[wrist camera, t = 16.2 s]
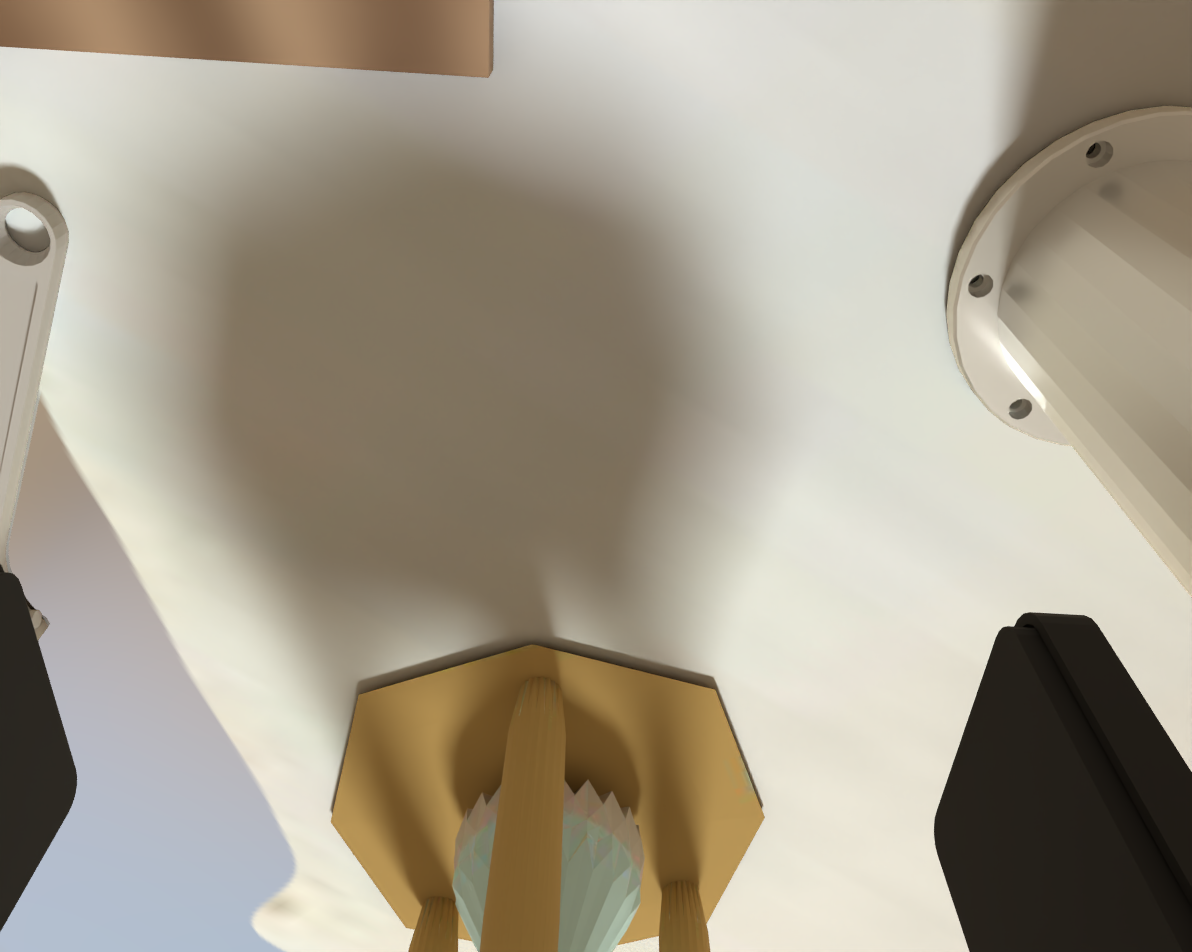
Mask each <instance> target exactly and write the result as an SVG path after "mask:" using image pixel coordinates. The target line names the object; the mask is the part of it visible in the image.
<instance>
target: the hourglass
mask: <svg viewBox="0 0 1192 952" xmlns="http://www.w3.org/2000/svg"><path fill="white" fill-rule="evenodd" d="M764 818H765V817H764V814H763V812H762V809H761V807H760V804H759V801H758V799H757V796H756V794H755V791H754V789H753V786H752V783H751V781H750V778H749V776H748V773H747V770H746V768H745V765H744V763H743V760H742V758H741V755H740V752H739V750H738V747H737V745H736V742H735V739H734V737H733V734H732V732H731V729H730V727H729V724H728V721H727V719H726V716H725V714H724V711H723V708H722V706H721V703H720V701H719V698H718V696H717V693H716V690H714V689H710V688H706V687H702V686H698V685H694V684H690V683H686V682H682V681H678V680H674V679H670V678H666V677H662V676H658V675H654V674H650V673H646V672H642V671H638V670H634V669H630V668H626V667H622V666H618V665H614V664H610V663H606V662H602V661H598V660H594V659H590V658H586V657H582V656H578V655H574V654H570V653H566V652H562V651H558V650H554V649H550V648H546V647H542V646H538V645H534V644H531V645H528V646H524V647H521V648H517V649H514V650H510V651H507V652H504V653H500V654H497V655H493V656H490V657H486V658H483V659H480V660H476V661H473V662H469V663H466V664H462V665H459V666H456V667H452V668H449V669H445V670H442V671H438V672H435V673H431V674H428V675H425V676H421V677H418V678H414V679H411V680H407V681H404V682H401V683H397V684H394V685H390V686H387V687H383V688H380V689H377V690H373V691H370V692H366V693H363V694H359V695H358V700H357V704H356V709H355V714H354V718H353V723H352V727H351V732H350V736H349V741H348V745H347V750H346V755H345V759H344V764H343V768H342V773H341V777H340V782H339V787H338V791H337V796H336V800H335V805H334V809H333V814H332V818H331V823H332V824H333V826H334V827H335V829H336V830H337V831H338V833H339V834H340V836H341V837H342V839H343V840H344V841H345V843H346V844H347V846H348V847H349V848H350V850H351V851H352V853H353V854H354V855H355V857H356V858H357V860H358V861H359V862H360V864H361V865H362V867H363V868H364V869H365V871H366V872H367V874H368V875H369V876H370V878H371V879H372V881H373V882H374V883H375V885H376V886H377V888H378V889H379V890H380V892H381V893H382V895H383V896H384V897H385V899H386V900H387V902H388V903H389V904H390V906H391V907H392V909H393V910H394V911H395V913H396V914H397V916H398V917H399V919H400V920H401V921H402V923H403V924H404V926H405V927H406V928H410V929H415V931H414V934H413V938H412V941H411V944H410V947H409V952H458V938H459V939H464V940H469V941H473V943H474V945H475V947H476V949H477V951H478V952H613V950H614V949H615V947H616V946H617V945H620V944H625V943H629V942H634V941H638V940H643V939H647V938H651V937H656V936H659V952H710V946H709V937H708V930H707V925H706V923H707V922H708V920H709V918H710V916H711V914H712V912H713V911H714V909H715V907H716V905H717V903H718V902H719V900H720V898H721V896H722V894H723V892H724V891H725V889H726V887H727V885H728V883H729V881H730V880H731V878H732V876H733V874H734V872H735V871H736V869H737V867H738V865H739V863H740V861H741V860H742V858H743V856H744V854H745V852H746V850H747V849H748V847H749V845H750V843H751V841H752V840H753V838H754V836H755V834H756V832H757V830H758V829H759V827H760V825H761V823H762V821H763V820H764Z"/></svg>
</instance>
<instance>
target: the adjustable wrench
mask: <svg viewBox="0 0 1192 952" xmlns="http://www.w3.org/2000/svg"><path fill="white" fill-rule="evenodd" d="M15 208H24V209H26V210H28V211H30V212H32V213H33V214H34V215H35V216H36V217H38V218H39V219H40V220H41V221H42V223H43V224H44V226H45V227H46V229H47V231H48V234H49V237H50V245H49V246H48V247H47V248H46V249H45V250H43V251H41V252H30V251H27V250H26V249H24V248H22V247H20V246H19V245H18V244H17V243H16V242H15V241H13V239H12V238H11V236H10V235H9V233H8V231H7V228H6V225H5V218H6V215H7V214H8V213H9V212H10V211H11V210H13V209H15ZM68 243H69V231H68V228H67V225H66V222H65V220H64V218H63V217H62V215H61V214H60V212H59V211H58V210H57V209H56V208H55V207H54V206H53V205H52V204H51V203H50V202H49V201H47V200H45V199H43V198H42V197H40V196H38V195H35V194H31V193H27V192H16V193H12V194H10V195H7V196H5V197H3V198H1V199H0V564H1V565H2V567H3V570H4V572H6V573H11V574H13V573H12V571H11V568H10V562H9V555H8V554H9V540H10V536H11V531H12V526H13V522H14V517H15V512H16V507H17V503H18V498H19V493H20V489H21V483H22V479H23V474H24V470H25V465H26V460H27V455H28V451H29V446H30V442H31V437H32V432H33V427H34V423H35V418H36V413H37V409H38V404H39V399H40V395H41V393H40V391H39V384H40V379H41V374H42V369H43V365H44V360H45V355H46V350H47V345H48V340H49V335H50V331H51V326H52V321H53V316H54V311H55V306H56V301H57V297H58V292H59V287H60V282H61V277H62V272H63V267H64V263H65V258H66V253H67V248H68ZM24 596H25V595H24ZM25 599H26V597H25ZM26 603H27V606H28V609H29V613H30V616H31V619H32V623H33V626H34V630H35V633H36V636H37V640H38V642H39V638H40V637H41V636H42V634H43V633H44V632H45V630H46V629H47V628H48V626H49V625H50V623H49V621H48V619H47V618H46V617H45V616H43V615H42V614H41V612H40V611H39V610H36V609H35V608H34V607H33V606H32V605H31V604H30V602H29V601H28V600H27V599H26Z"/></svg>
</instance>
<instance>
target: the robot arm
mask: <svg viewBox="0 0 1192 952" xmlns="http://www.w3.org/2000/svg"><path fill="white" fill-rule="evenodd" d="M1094 143H1095V149H1094V151H1093V152H1092V153H1091V154H1089V155H1086V153H1087V151H1088V149H1089V148H1090V146H1092V145H1093V144H1094ZM977 275H980V277H979V279H978V280H977V281H976V282H974V283H970V281H971V279H972V278H974V277H975V276H977ZM946 316H947V325H948V334H949V343H950V346H951V349H952V352H953V355H954V357H955V360H956V363H957V366H958V369H959V370H960V372H961V374H962V375H963V377H964V378H965V380H966V382H967V383H968V385H969V387H970V388H971V390H972V391H973V392H974V394H975V395H976V396H977V397H978V398H979V400H980V401H981V402H982V403H983V405H984V406H985V407H986V408H987V409H988V411H990V412H991V413H992V414H993V415H995V416H996V417H997V418H998V419H999V420H1001V421H1002V422H1003V423H1005V424H1006V425H1008V426H1009V427H1011V428H1013V429H1015V430H1018V431H1020V432H1022V433H1024V434H1026V435H1028V436H1030V437H1033V438H1035V439H1039V440H1043V441H1047V442H1051V443H1055V444H1059V445H1064V446H1072V447H1073V448H1074V450H1075V451H1076V452H1077V453H1078V455H1079V456H1080V457H1081V459H1082V460H1083V461H1084V462H1085V464H1086V465H1087V466H1088V467H1089V469H1090V470H1091V471H1092V472H1093V474H1094V475H1095V476H1096V477H1097V479H1098V480H1099V481H1100V483H1101V484H1102V485H1103V486H1104V488H1105V489H1106V490H1107V491H1108V493H1109V494H1110V495H1111V496H1112V498H1113V499H1114V500H1115V501H1116V503H1117V504H1118V505H1119V507H1120V508H1121V509H1122V510H1123V512H1124V513H1125V514H1126V515H1127V517H1128V518H1129V519H1130V520H1131V522H1132V523H1133V524H1134V525H1135V527H1136V528H1137V529H1138V531H1139V532H1140V533H1141V534H1142V536H1143V537H1144V538H1145V539H1146V541H1147V542H1148V543H1149V544H1150V546H1151V547H1152V548H1153V549H1154V551H1155V552H1156V553H1157V555H1158V556H1159V557H1160V558H1161V560H1162V561H1163V562H1164V563H1165V565H1166V566H1167V567H1168V568H1169V570H1170V571H1171V572H1172V573H1173V575H1174V576H1175V577H1176V579H1177V580H1178V581H1179V582H1180V584H1181V585H1182V586H1183V587H1184V589H1185V590H1186V591H1187V592H1188V594H1189V595H1190V596H1191V597H1192V107H1180V106H1160V107H1152V108H1144V109H1137V110H1129V111H1126V112H1123V113H1120V114H1117V115H1113V116H1110V117H1107V118H1104V119H1101V120H1098V121H1094V122H1092V123H1090V124H1088V125H1086V126H1084V127H1082V128H1080V129H1078V130H1076V131H1074V132H1072V133H1070V134H1068V135H1066V136H1064V137H1062V138H1060V139H1058V140H1056V141H1055V142H1053V143H1052V144H1051V145H1049V146H1048V147H1047V148H1045V149H1044V150H1042V151H1041V152H1040V153H1038V154H1037V155H1035V156H1034V157H1033V158H1031V159H1030V160H1028V161H1027V162H1026V163H1024V164H1023V165H1022V166H1021V167H1020V168H1019V169H1018V170H1017V171H1016V172H1015V173H1014V174H1013V175H1012V176H1011V177H1010V178H1009V179H1008V180H1007V181H1006V182H1005V183H1004V184H1003V185H1002V186H1001V187H1000V188H999V189H998V190H997V191H996V193H995V194H994V195H993V197H992V198H991V199H990V201H989V202H988V203H987V205H986V206H985V208H984V209H983V210H982V212H981V213H980V214H979V216H978V217H977V218H976V220H975V221H974V223H973V225H972V227H971V229H970V231H969V233H968V235H967V237H966V239H965V241H964V243H963V245H962V247H961V249H960V251H959V253H958V257H957V260H956V263H955V267H954V270H953V273H952V277H951V280H950V283H949V293H948V303H947V312H946ZM1016 400H1017V401H1016ZM1013 402H1014V403H1013ZM76 786H77V774H76V768H75V765H74V762H73V758H72V755H71V751H70V748H69V745H68V741H67V738H66V735H65V731H64V728H63V724H62V721H61V718H60V714H59V711H58V708H57V704H56V701H55V697H54V694H53V690H52V687H51V684H50V680H49V677H48V674H47V670H46V667H45V663H44V660H43V657H42V653H41V650H40V647H39V643H38V640H37V636H36V633H35V630H34V626H33V623H32V619H31V616H30V613H29V609H28V606H27V603H26V599H25V596H24V592H23V589H22V586H21V584H20V581H19V579H18V578H17V577H16V576H15V575H14V574H11V573H6V572H4V570H3V567H2V565H1V564H0V931H1V930H2V928H3V926H4V924H5V923H6V921H7V919H8V917H9V916H10V914H11V912H12V910H13V909H14V907H15V905H16V903H17V902H18V900H19V898H20V896H21V895H22V893H23V891H24V889H25V887H26V886H27V884H28V882H29V880H30V879H31V877H32V875H33V874H34V872H35V870H36V868H37V867H38V865H39V863H40V861H41V860H42V858H43V856H44V854H45V853H46V851H47V849H48V847H49V846H50V844H51V842H52V840H53V839H54V837H55V835H56V833H57V832H58V830H59V828H60V826H61V825H62V823H63V821H64V819H65V818H66V816H67V814H68V812H69V810H70V808H71V806H72V803H73V800H74V797H75V793H76ZM934 838H935V846H936V850H937V854H938V857H939V860H940V863H941V866H942V869H943V872H944V876H945V879H946V882H947V885H948V888H949V891H950V894H951V897H952V900H953V903H954V906H955V909H956V912H957V915H958V918H959V921H960V924H961V927H962V930H963V933H964V936H965V939H966V942H967V945H968V948H969V951H970V952H1192V772H1191V771H1190V769H1189V767H1188V766H1187V764H1186V763H1185V761H1184V760H1183V758H1182V757H1181V755H1180V753H1179V752H1178V750H1177V749H1176V747H1175V746H1174V744H1173V742H1172V741H1171V739H1170V738H1169V736H1168V735H1167V733H1166V731H1165V730H1164V728H1163V727H1162V725H1161V724H1160V722H1159V721H1158V719H1157V717H1156V716H1155V714H1154V713H1153V711H1152V710H1151V708H1150V706H1149V705H1148V703H1147V702H1146V700H1145V699H1144V697H1143V696H1142V694H1141V692H1140V691H1139V689H1138V688H1137V686H1136V685H1135V683H1134V681H1133V680H1132V678H1131V677H1130V675H1129V674H1128V672H1127V670H1126V669H1125V667H1124V666H1123V664H1122V663H1121V661H1120V660H1119V658H1118V656H1117V655H1116V653H1115V652H1114V650H1113V649H1112V647H1111V645H1110V644H1109V642H1108V641H1107V639H1106V638H1105V636H1104V635H1103V633H1102V631H1101V630H1100V628H1099V627H1098V625H1097V624H1096V623H1095V622H1094V621H1093V620H1092V619H1091V618H1089V617H1087V616H1085V615H1068V614H1049V613H1031V612H1029V613H1025V614H1023V615H1022V616H1021V617H1020V618H1019V619H1018V620H1017V622H1016V624H1015V626H1014V627H1010V626H1007V627H1003V628H1002V629H1001V630H1000V631H999V633H998V635H997V637H996V639H995V642H994V645H993V648H992V651H991V654H990V657H989V660H988V663H987V666H986V669H985V671H984V674H983V677H982V680H981V683H980V686H979V689H978V692H977V695H976V698H975V701H974V704H973V707H972V710H971V712H970V715H969V718H968V721H967V724H966V727H965V730H964V733H963V736H962V739H961V742H960V745H959V748H958V751H957V753H956V756H955V759H954V762H953V765H952V768H951V771H950V774H949V777H948V780H947V783H946V786H945V789H944V792H943V794H942V797H941V800H940V803H939V806H938V809H937V812H936V816H935V823H934Z"/></svg>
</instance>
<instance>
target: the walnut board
mask: <svg viewBox="0 0 1192 952" xmlns="http://www.w3.org/2000/svg"><path fill="white" fill-rule="evenodd" d="M493 15H494V0H0V46H2V47H18V48H33V49H49V50H64V51H80V52H96V53H111V54H127V55H143V56H158V57H174V58H189V59H205V60H221V61H236V62H252V63H268V64H283V65H299V66H314V67H330V68H346V69H361V70H377V71H393V72H408V73H424V74H439V75H455V76H471V77H486V78H489V76H490V74H491V72H492V71H493Z"/></svg>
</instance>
